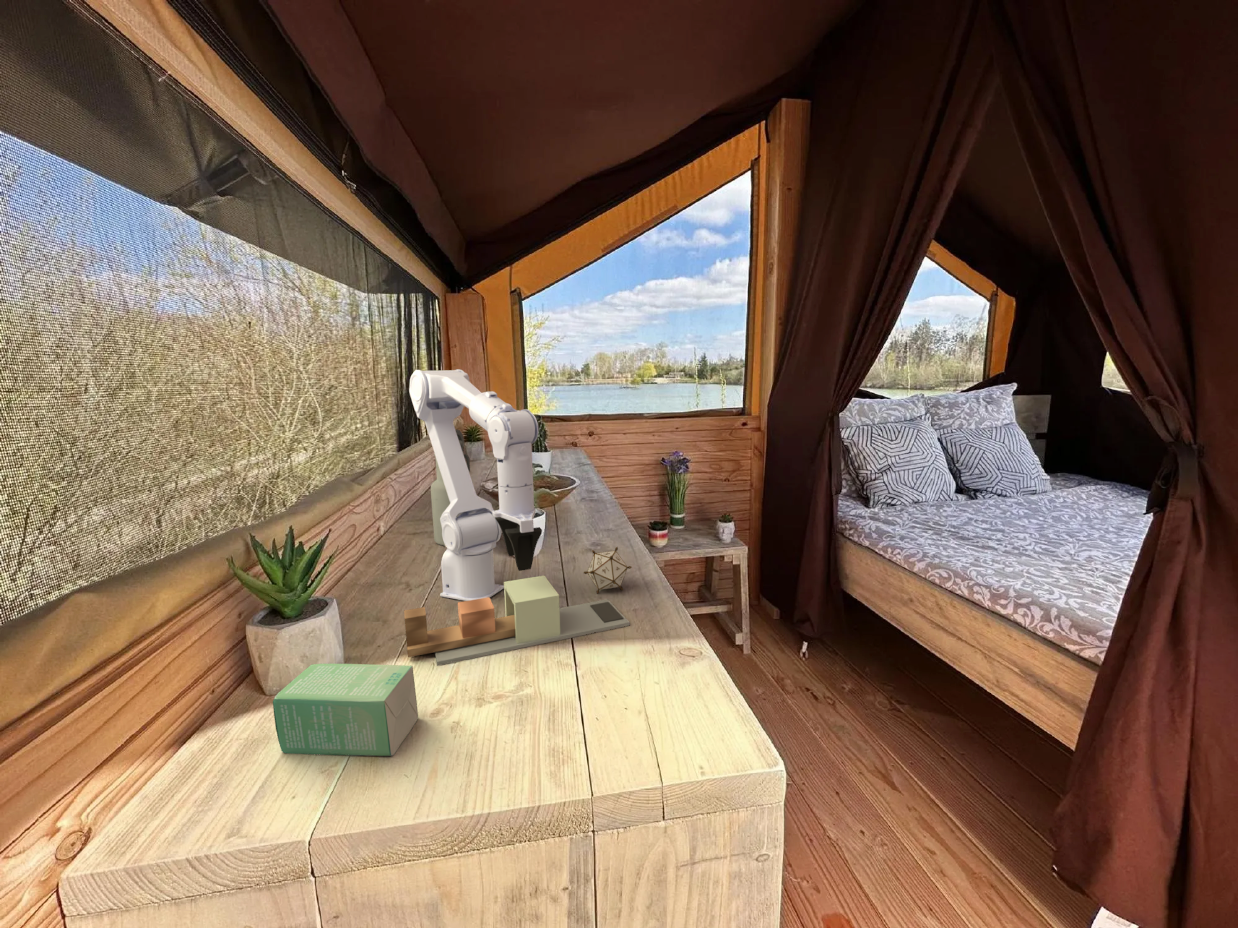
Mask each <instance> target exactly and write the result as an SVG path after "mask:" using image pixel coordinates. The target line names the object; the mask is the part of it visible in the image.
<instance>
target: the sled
mask: <svg viewBox="0 0 1238 928" xmlns="http://www.w3.org/2000/svg"><path fill="white" fill-rule="evenodd" d="M457 612H458V624H457V625H451V626H446V627H441V628H437V629H436V628H435V629H430V630H428V624H427V615H426V614H427V613H426V606H424V607H416V608H411V609H405V610H403V613H404V614H403V616H404V628H405V638H406V652H407V658H411V657H416V656H420V655H428V654H432V653H435V652H437V651H442V650H448V649H453V648H458V647H463V646H468V645H473V644H478V643H483V642H488V641H493V640H498V639H503V638H508V637H513V636H516V635H515V615H511V616H506V615H505V616H501V617H496V616H495V615H496V613H495V606H494V604H493V603H492V599H491V597H490V598H489V597H487V598H481V599H475V600H469V601H464V600H463V601H458V602H457Z"/></svg>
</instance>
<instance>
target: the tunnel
mask: <svg viewBox="0 0 1238 928" xmlns="http://www.w3.org/2000/svg"><path fill="white" fill-rule="evenodd" d="M503 585H504V588H503V591H504V593H503V594H504V611H505V612H504V613H505V617H506V616H511V615H515V635H516V642H517V644H518V643H523V642H528V641H533V640H538V639H543V638H548V637H553V636H558V635H560V608H561V607H560V594H559V593H558V592H557V591H556V589H555V588H554V587H553V585H552V584H551V583H550V581H549V580H548V579H547V577H546V576H545V575H539V576H533V577H532V576H531V577H525V578H520V579H514V580H508V581H503Z"/></svg>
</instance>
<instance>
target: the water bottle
mask: <svg viewBox="0 0 1238 928" xmlns="http://www.w3.org/2000/svg"><path fill="white" fill-rule="evenodd" d="M455 430H456V433H457V437H458V440H459V443H460V446H461V449H462V452H463V455H464V458H465V461H466V464H467V467H468V470H469V473H470V472H471V463H470V461H471V460H470V457H469V455H468V454H465V452H464V448H465V439H464V436H463V433H462V431H461V430H460V429H455ZM433 456H434V457H435V470H436V480H434V481H433V482H432V483H431V485H430V497H431V498H430V501H431V513H432V524H433V526H432V528H433V540H434V542H435V543H436V544H437V545H440V546H444V547H446V546H445V544H444V541H443V537H442V526H441V521H440V518H441V516H442V514H443V512H444V511H445V510H446V508H447V507H448V506H449V505H450V501H449V497H448V494H447V491H446V488H445V485H444V482H443V478H442V475H441V472H440V469H439V466H438V463H437V459H436V456H435V453H433Z"/></svg>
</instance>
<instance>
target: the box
mask: <svg viewBox="0 0 1238 928" xmlns="http://www.w3.org/2000/svg"><path fill="white" fill-rule="evenodd" d="M414 675H415V674H414V666H413V665H404V664H403V665H399V664H397V665H396V664H366V663H365V664H364V663H362V664H361V663H315V664H313V663H312V664H310V665H309V666H308V667H307V668H306V669H304V670H303V671H302V672H301V673H299V674H298V675H297V676H296V677H295V678H294V679H292V681H290V682H289V683H288V684H287V685H286V686H284V687H283V688H282V689H281V690H280V691H279V692H278V693H277V694H276V695H275V696H274V699H273V701H272V706H273V707H272V709H273V716H274V717H273V718H274V724H275V726H274V727H275V731H276V736H277V740H278V743H279V747H280V750H281V752H282V753H284V754H289V755H290V754H291V755H292V754H293V755H314V754H315V756H317V754H318V755H319V754H320V755H321V756H323V755H324V756H358V757H359V756H360V757H361V756H365V757H367V756H372V757H373V756H376V757H377V756H378V757H379V756H382V757H387V756H394V755H395V754H396V753H397V751H398V749H399V748H400V747H401V745H403V742H404V741H405V739H406V738H407V737H408V735H409V734H410V732H411V731H412V729H413V727H414V726H415V725H416V723H417V721H418V718H419V712H418V701H417V694H416V684H415V676H414ZM320 755H319V756H320Z"/></svg>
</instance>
